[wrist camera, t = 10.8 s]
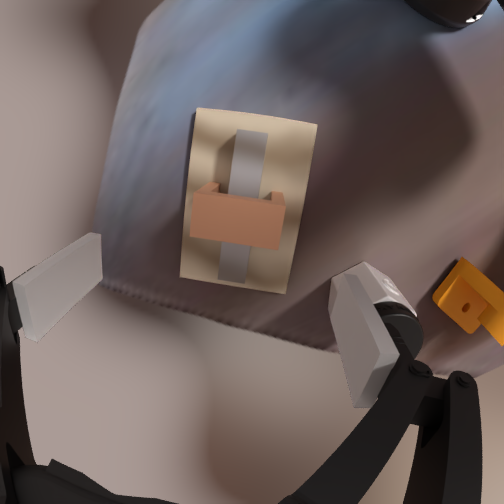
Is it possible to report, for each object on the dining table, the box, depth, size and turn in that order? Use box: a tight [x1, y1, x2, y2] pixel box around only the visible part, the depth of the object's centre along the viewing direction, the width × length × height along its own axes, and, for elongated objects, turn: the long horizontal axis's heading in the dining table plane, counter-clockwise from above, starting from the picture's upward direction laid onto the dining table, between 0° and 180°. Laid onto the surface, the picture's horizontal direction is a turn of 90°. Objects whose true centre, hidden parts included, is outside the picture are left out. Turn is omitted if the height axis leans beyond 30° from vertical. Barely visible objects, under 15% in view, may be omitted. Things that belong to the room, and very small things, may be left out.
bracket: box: [432, 257, 504, 346], centre depth 32 cm, size 11×7×12 cm, turn 56°
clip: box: [190, 182, 286, 250], centre depth 30 cm, size 4×8×8 cm, turn 82°
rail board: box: [180, 108, 317, 294], centre depth 33 cm, size 20×13×4 cm, turn 172°
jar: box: [328, 262, 423, 359], centre depth 32 cm, size 9×8×12 cm
